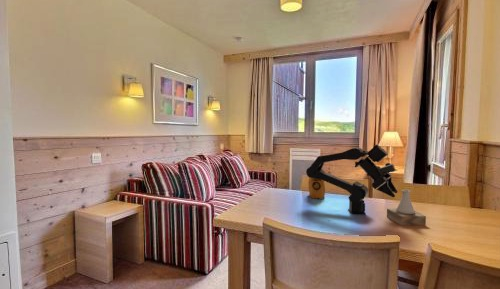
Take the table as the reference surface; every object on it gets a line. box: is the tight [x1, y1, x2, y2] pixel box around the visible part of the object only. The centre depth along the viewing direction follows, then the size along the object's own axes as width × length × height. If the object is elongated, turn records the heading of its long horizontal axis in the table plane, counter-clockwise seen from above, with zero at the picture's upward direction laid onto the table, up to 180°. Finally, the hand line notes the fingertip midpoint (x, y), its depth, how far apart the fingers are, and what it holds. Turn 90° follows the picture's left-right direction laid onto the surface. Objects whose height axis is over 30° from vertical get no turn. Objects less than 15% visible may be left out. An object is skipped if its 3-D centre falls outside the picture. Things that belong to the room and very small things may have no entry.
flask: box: [396, 189, 416, 214], centre depth 118 cm, size 7×7×10 cm
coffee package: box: [308, 177, 326, 199], centre depth 161 cm, size 10×12×22 cm
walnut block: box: [386, 208, 427, 226], centre depth 118 cm, size 11×11×4 cm
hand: (395, 194), depth 120 cm, fingers open, 9 cm apart
